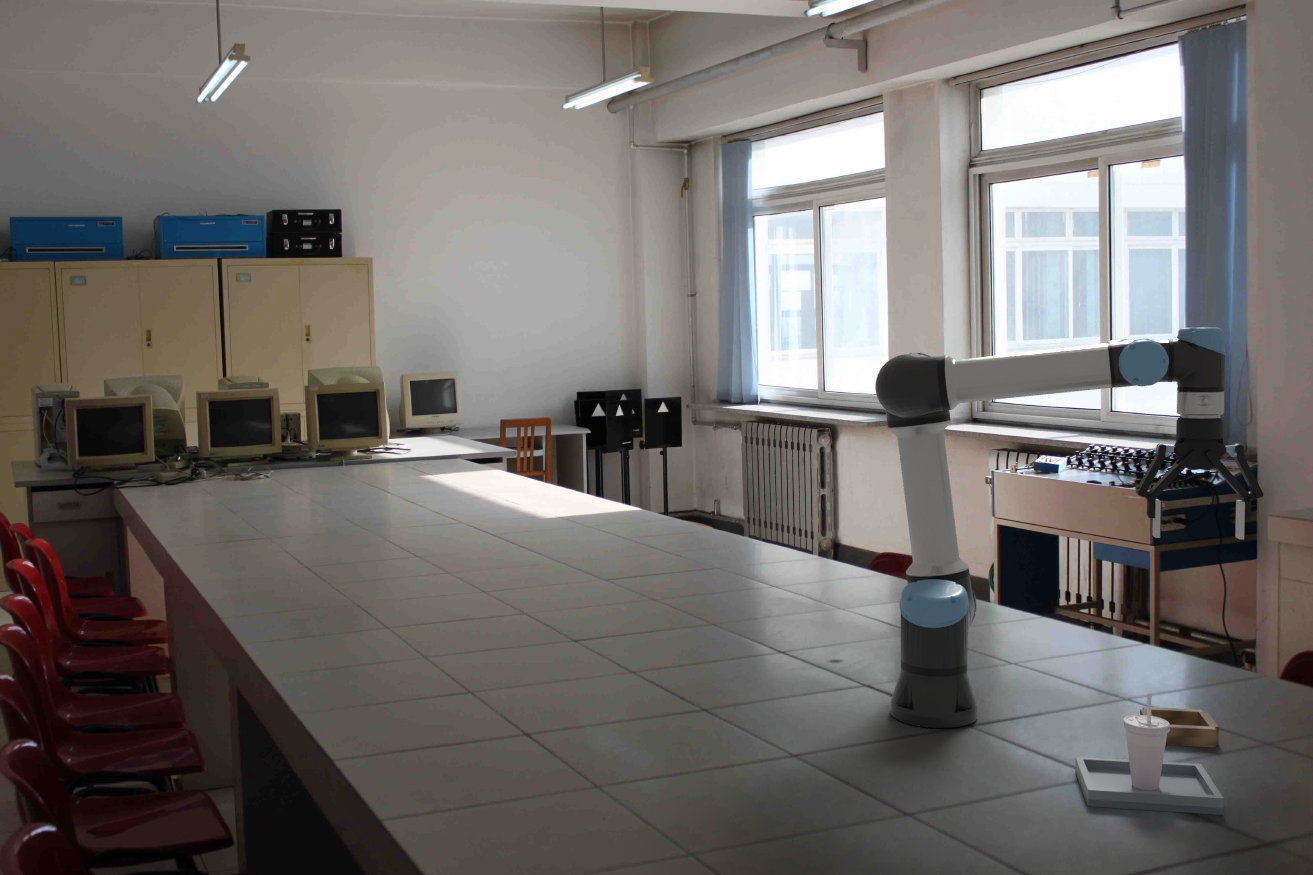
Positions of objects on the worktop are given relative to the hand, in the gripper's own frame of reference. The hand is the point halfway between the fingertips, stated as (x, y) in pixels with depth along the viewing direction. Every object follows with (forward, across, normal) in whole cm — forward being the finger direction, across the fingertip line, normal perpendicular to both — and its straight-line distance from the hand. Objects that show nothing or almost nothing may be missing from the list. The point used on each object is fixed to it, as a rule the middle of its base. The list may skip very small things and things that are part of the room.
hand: (1197, 537), depth 209 cm
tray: (+32, -15, -40) cm, 53 cm away
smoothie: (+31, -15, -40) cm, 53 cm away
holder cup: (+32, -5, -12) cm, 34 cm away
